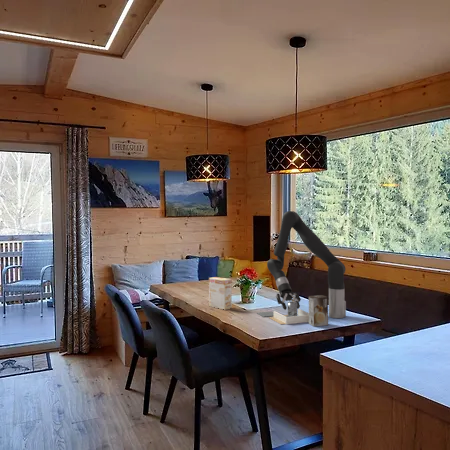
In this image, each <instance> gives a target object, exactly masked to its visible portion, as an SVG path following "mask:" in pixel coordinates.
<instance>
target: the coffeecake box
mask: <svg viewBox="0 0 450 450" xmlns="http://www.w3.org/2000/svg"><path fill="white" fill-rule="evenodd" d="M232 285H233V284H232V278H225V277H219V276H213V277H208V294H209V295H208V296H209V297H208V302H209V303H208V306H210V308H214V307H215V308H214V309H218V308H219V310H223V309H224V310H223V311H225V310H231V309H232V306H233V305H232V302H233V301H232V290H233V289H232ZM230 308H231V309H230Z"/></svg>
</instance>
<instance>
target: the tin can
mask: <svg viewBox="0 0 450 450" xmlns="http://www.w3.org/2000/svg"><path fill="white" fill-rule="evenodd" d="M297 314H298V309H297V302H292V301H287V315H288V316H287V317H291V316H298V315H297Z"/></svg>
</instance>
